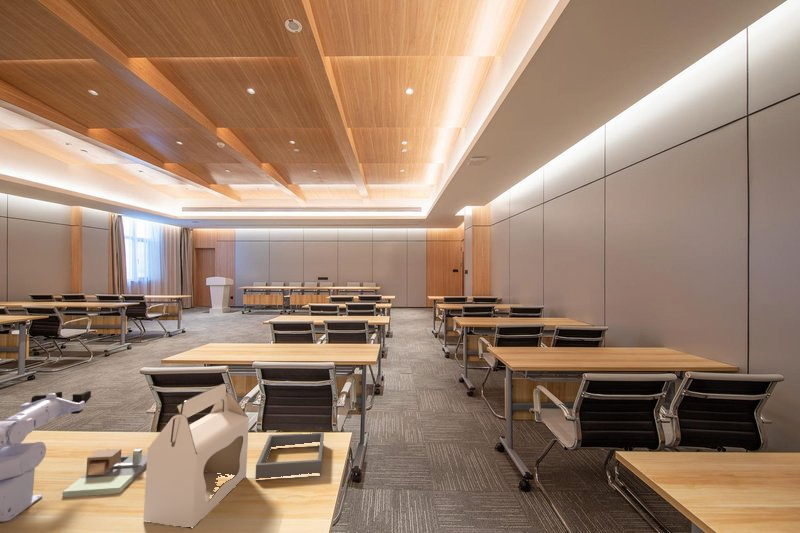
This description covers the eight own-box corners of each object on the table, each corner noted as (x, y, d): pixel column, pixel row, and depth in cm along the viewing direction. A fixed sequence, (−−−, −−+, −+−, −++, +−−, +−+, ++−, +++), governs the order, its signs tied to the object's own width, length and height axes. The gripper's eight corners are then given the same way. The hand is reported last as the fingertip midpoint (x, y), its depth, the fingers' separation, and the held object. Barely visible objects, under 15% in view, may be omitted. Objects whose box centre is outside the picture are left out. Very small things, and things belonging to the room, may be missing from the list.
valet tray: (320, 476, 102) (321, 461, 103) (255, 481, 99) (256, 465, 99) (323, 445, 122) (323, 432, 122) (268, 448, 118) (269, 435, 118)
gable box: (206, 472, 103) (211, 378, 104) (246, 476, 101) (251, 381, 103) (141, 523, 81) (148, 404, 82) (191, 530, 79) (198, 408, 81)
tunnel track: (119, 493, 92) (121, 468, 92) (62, 497, 89) (64, 472, 90) (154, 458, 109) (156, 438, 110) (108, 461, 107) (109, 440, 107)
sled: (129, 474, 98) (130, 458, 98) (87, 477, 96) (88, 461, 96) (144, 460, 105) (145, 446, 105) (105, 462, 103) (106, 448, 104)
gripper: (67, 400, 92) (102, 381, 106) (4, 402, 90) (47, 382, 103) (67, 425, 93) (102, 403, 106) (4, 428, 90) (47, 405, 103)
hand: (75, 394), depth 105 cm, fingers open, 7 cm apart
